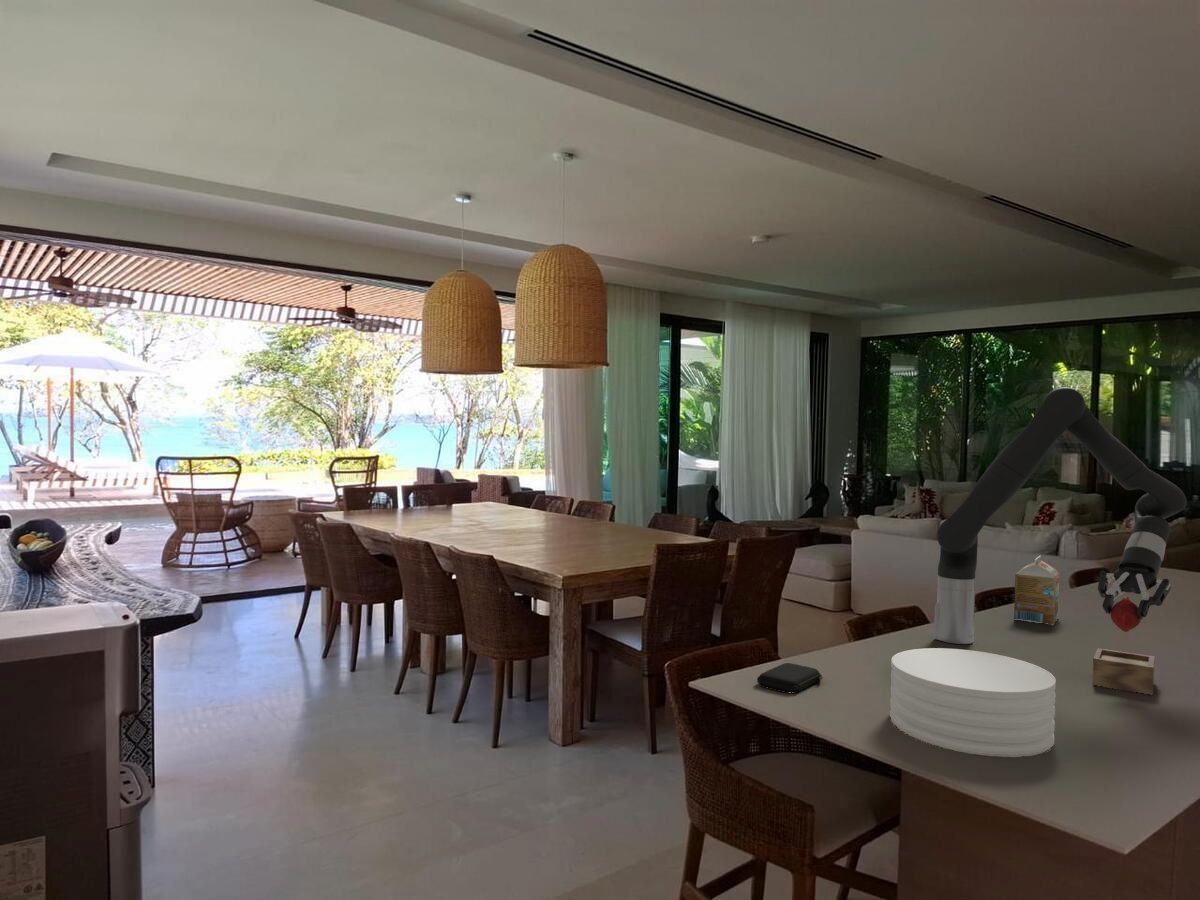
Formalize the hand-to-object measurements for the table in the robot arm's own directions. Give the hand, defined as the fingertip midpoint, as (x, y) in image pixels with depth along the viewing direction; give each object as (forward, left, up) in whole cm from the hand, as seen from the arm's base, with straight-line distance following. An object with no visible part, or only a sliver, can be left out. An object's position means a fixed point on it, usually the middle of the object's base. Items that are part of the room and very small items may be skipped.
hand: (1123, 613), depth 178 cm
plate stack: (-22, -50, -16) cm, 57 cm away
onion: (0, +2, -4) cm, 5 cm away
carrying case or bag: (-59, -46, -17) cm, 76 cm away
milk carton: (-25, +61, -16) cm, 68 cm away
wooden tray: (0, +1, -16) cm, 16 cm away
